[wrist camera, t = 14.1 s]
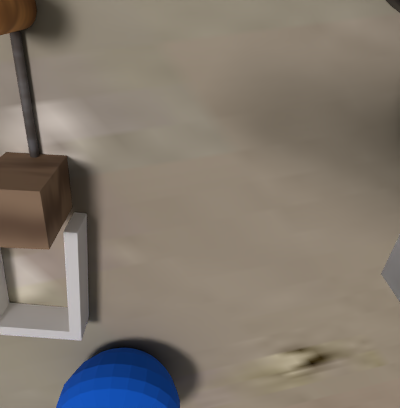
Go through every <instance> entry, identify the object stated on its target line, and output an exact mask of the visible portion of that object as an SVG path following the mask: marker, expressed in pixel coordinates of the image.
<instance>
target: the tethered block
mask: <svg viewBox="0 0 400 408" xmlns="http://www.w3.org/2000/svg"><path fill="white" fill-rule="evenodd" d="M36 14H37V7H36V3H35V0H0V35H3V34H7V33H10V38H11V44H12V50H13V56H14V62H15V68H16V75H17V81H18V87H19V93H20V99H21V105H22V111H23V117H24V123H25V129H26V135H27V141H28V147H29V153H30V154H28V153H11V152H6V153H5V154H4V155H2V156H1V157H0V247H7V248H29V249H50V247H51V245H52V243H53V242H54V240H55V238H56V236H57V234H58V232H59V231H60V229H61V227H62V225H63V223H64V222H65V220H66V218H67V216H68V214H69V212H70V211H71V209H72V207H73V206H72V197H71V188H70V179H69V170H68V162H67V156H63V155H45V154H39V150H38V143H37V137H36V130H35V123H34V117H33V110H32V104H31V97H30V91H29V84H28V78H27V71H26V65H25V58H24V51H23V45H22V38H21V32H20V30H24V29H26V28H28V27H30V26H31V25H32V24H33V22H34V21H35V18H36Z"/></svg>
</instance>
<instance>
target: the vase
mask: <svg viewBox="0 0 400 408" xmlns="http://www.w3.org/2000/svg"><path fill="white" fill-rule="evenodd" d="M56 408H180V400H179V397H178V393H177V390H176V387H175V385H174V382H173V380H172V377H171V375H170V374H169V373H168V371H167V370H166V368H165V367H164V366H163V365H162V364H161V363H160V362H159V361H158V360H157V359H156V358H154V357H153V356H152V355H150V354H148V353H146V352H143V351H141V350H137V349H134V348H114V349H109V350H106V351H103V352H100V353H99V354H97V355H95V356H94V357H92V358H90V359H89V360H87V361H85V362H84V363H83V364H82V365H81V366H80V367H79V368H78V369H77V370H76V372H75V373H74V374H73V375H72V376H71V377H70V379H69V380H68V381H67V382H66V383H65V384H64V387H63V390H62V392H61V395H60V398H59V401H58V404H57V406H56Z"/></svg>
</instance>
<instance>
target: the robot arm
mask: <svg viewBox="0 0 400 408" xmlns="http://www.w3.org/2000/svg"><path fill="white" fill-rule="evenodd" d="M386 1H387V2H388V3H389V4H390V5H391V6H392V7H393V8H395V9H396V10H397V11H399V12H400V0H386ZM381 274H382V276H383V277H384V279H385V280H386V282H387V283H388V285H389V286H390V288H391V289H392V291H393V292H394V294H395V295H396V297H397V298H398V300H399V302H400V235H399V237H398V239H397V242H396V244H395V246H394V248H393V250H392V252H391V254H390V256H389V258H388V260H387V263H386V265H385V267H384V269H383V271H382V273H381Z"/></svg>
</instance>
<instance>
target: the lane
mask: <svg viewBox="0 0 400 408" xmlns="http://www.w3.org/2000/svg"><path fill="white" fill-rule="evenodd" d="M64 249H65V265H66V282H67V299H68V307H58V306H46V305H33V304H21V303H10V302H9V296H8V290H7V284H6V278H5V272H4V266H3V260H2V254H1V248H0V334H1V335H14V336H28V337H41V338H55V339H69V340H82V337H83V334H84V331H85V328H86V324H87V321H88V318H89V296H88V252H87V213H78V212H74V213H73V215H72V217H71V219H70V221H69V222H68V224H67V226H66V228H65V230H64Z"/></svg>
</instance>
